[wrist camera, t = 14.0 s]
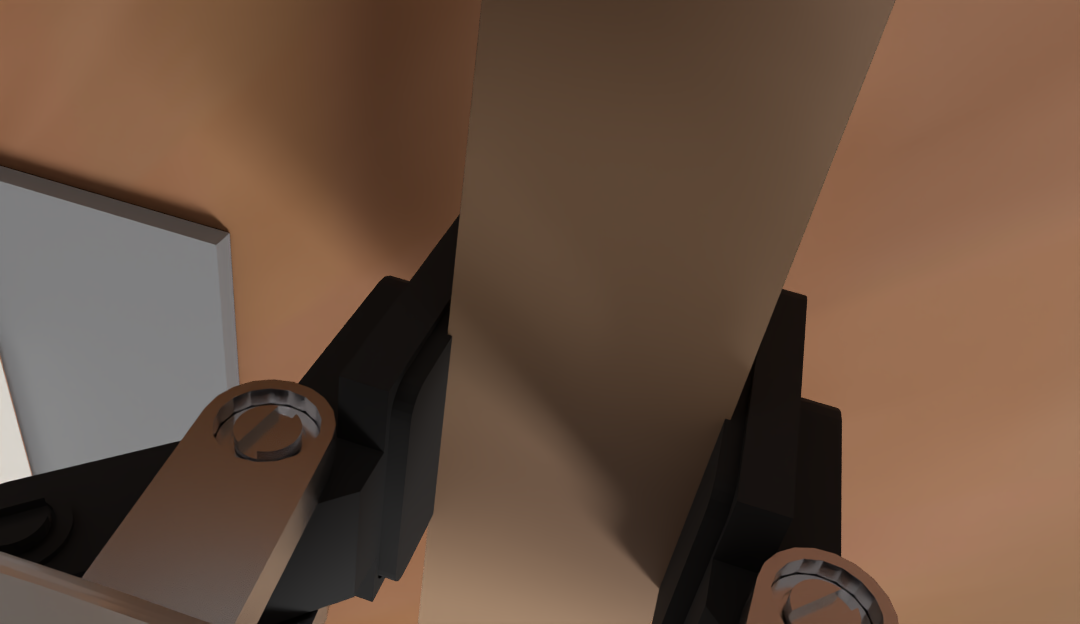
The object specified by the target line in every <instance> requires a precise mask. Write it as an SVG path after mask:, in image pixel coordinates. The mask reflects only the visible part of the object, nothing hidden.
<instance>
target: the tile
mask: <svg viewBox="0 0 1080 624" xmlns="http://www.w3.org/2000/svg"><path fill="white" fill-rule="evenodd" d="M29 476H33V475H32V471H31V467H30V463H29V460H28V456H27V452H26V449H25V445H24V441H23V438H22V434H21V430H20V426H19V423H18V419H17V415H16V412H15V408H14V404H13V400H12V397H11V393H10V389H9V386H8V382H7V378H6V375H5V371H4V367H3V363H2V360H1V356H0V484H1V483H4V482H8V481H13V480H17V479H21V478H25V477H29Z"/></svg>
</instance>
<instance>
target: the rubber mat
mask: <svg viewBox="0 0 1080 624" xmlns="http://www.w3.org/2000/svg"><path fill="white" fill-rule="evenodd" d="M0 356H1V360H2V363H3V367H4V371H5V375H6V378H7V382H8V386H9V389H10V393H11V397H12V400H13V404H14V408H15V412H16V415H17V419H18V423H19V426H20V430H21V434H22V438H23V441H24V445H25V449H26V452H27V456H28V460H29V463H30V467H31V471H32V475H33V476H34V475H38V474H42V473H46V472H51V471H55V470H59V469H63V468H67V467H72V466H76V465H80V464H84V463H88V462H93V461H97V460H101V459H105V458H109V457H114V456H118V455H122V454H126V453H131V452H135V451H139V450H143V449H147V448H152V447H156V446H160V445H164V444H168V443H173V442H177V441H181V440H182V439H183V437H184V436H185V434H186V433H187V432H188V430H189V429H190V427H191V426H192V425H193V423H194V422H195V421H196V419H197V418H198V416H199V415H200V414H201V412H202V411H203V410H204V408H205V407H206V406H207V405H208V404H209V403H210V402H211V401H212V400H213V399H214V398H215V397H216V396H218V395H220V394H221V393H223V392H225V391H227V390H229V389H230V388H232V387H234V386H238V385H239V372H238V356H237V341H236V325H235V310H234V294H233V278H232V263H231V247H230V233H228V232H224V231H221V230H217V229H214V228H211V227H207V226H204V225H200V224H197V223H194V222H190V221H187V220H183V219H180V218H177V217H173V216H170V215H166V214H163V213H160V212H156V211H153V210H149V209H146V208H142V207H139V206H136V205H132V204H129V203H125V202H122V201H119V200H115V199H112V198H108V197H105V196H102V195H98V194H95V193H91V192H88V191H85V190H81V189H78V188H74V187H71V186H68V185H64V184H61V183H57V182H54V181H51V180H47V179H44V178H40V177H37V176H33V175H30V174H27V173H23V172H20V171H16V170H13V169H10V168H6V167H3V166H0Z"/></svg>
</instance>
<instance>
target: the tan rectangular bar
mask: <svg viewBox="0 0 1080 624" xmlns="http://www.w3.org/2000/svg"><path fill="white" fill-rule="evenodd" d="M894 3H895V0H482V4H481V13H480V23H479V33H478V43H477V52H476V62H475V72H474V82H473V91H472V101H471V111H470V121H469V130H468V140H467V150H466V160H465V169H464V179H463V189H462V199H461V209H460V218H459V228H458V238H457V248H456V257H455V267H454V277H453V287H452V296H451V306H450V316H449V326H448V335H451V336H452V344H451V353H450V362H449V372H448V381H447V390H446V400H445V409H444V418H443V428H442V437H441V446H440V456H439V465H438V475H437V484H436V493H435V503H434V512H433V516H432V518H431V520H430V522H429V524H428V531H427V540H426V550H425V560H424V570H423V579H422V589H421V599H420V609H419V618H418V624H650V623H651V621H652V618H653V616H654V611H655V607H656V602H657V597H658V592H659V588H660V586H661V583H662V580H663V578H664V575H665V573H666V570H667V568H668V565H669V562H670V560H671V557H672V555H673V552H674V549H675V547H676V544H677V542H678V539H679V537H680V534H681V531H682V529H683V526H684V524H685V521H686V518H687V516H688V513H689V511H690V508H691V506H692V503H693V500H694V498H695V495H696V493H697V490H698V488H699V485H700V482H701V480H702V477H703V475H704V472H705V469H706V467H707V464H708V462H709V459H710V457H711V454H712V451H713V449H714V446H715V444H716V441H717V438H718V436H719V433H720V431H721V428H722V426H723V423H724V420H725V419H728V420H731V417H732V415H733V412H734V410H735V407H736V405H737V402H738V400H739V397H740V395H741V392H742V389H743V387H744V384H745V382H746V379H747V377H748V374H749V372H750V369H751V367H752V364H753V361H754V359H755V356H756V354H757V351H758V349H759V346H760V344H761V341H762V339H763V336H764V334H765V331H766V328H767V326H768V323H769V321H770V318H771V316H772V313H773V311H774V308H775V306H776V303H777V300H778V298H779V295H780V293H781V290H782V288H783V285H784V283H785V280H786V278H787V275H788V273H789V270H790V267H791V265H792V262H793V260H794V257H795V255H796V252H797V250H798V247H799V245H800V242H801V239H802V237H803V234H804V232H805V229H806V227H807V224H808V222H809V219H810V217H811V214H812V211H813V209H814V206H815V204H816V201H817V199H818V196H819V194H820V191H821V189H822V186H823V184H824V181H825V178H826V176H827V173H828V171H829V168H830V166H831V163H832V161H833V158H834V156H835V153H836V150H837V148H838V145H839V143H840V140H841V138H842V135H843V133H844V130H845V128H846V125H847V123H848V120H849V117H850V115H851V112H852V110H853V107H854V105H855V102H856V100H857V97H858V95H859V92H860V89H861V87H862V84H863V82H864V79H865V77H866V74H867V72H868V69H869V67H870V64H871V61H872V59H873V56H874V54H875V51H876V49H877V46H878V44H879V41H880V39H881V36H882V34H883V31H884V28H885V26H886V23H887V21H888V18H889V16H890V13H891V11H892V8H893V6H894Z"/></svg>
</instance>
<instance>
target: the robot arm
mask: <svg viewBox="0 0 1080 624" xmlns="http://www.w3.org/2000/svg"><path fill="white" fill-rule="evenodd" d="M459 218H460V215H459V216H458V217H457V219H456V220H455V221H454V223H453V224H452V225H451V227H450V228H449V229H448V231H447V232H446V233H445V235H444V236H443V237H442V239H441V240H440V241H439V243H438V244H437V245H436V247H435V248H434V249H433V251H432V252H431V253H430V255H429V256H428V257H427V259H426V260H425V261H424V263H423V264H422V265H421V267H420V268H419V270H418V271H417V272H416V274H415V275H414V276H413V278H412V279H411V280H410V281H407V280H403V279H400V278H397V277H393V276H386V277H384V278H383V279H382V280H381V281H380V282H379V283H378V284H377V285H376V287H375V288H374V289H373V290H372V292H371V293H370V294H369V295H368V297H367V298H366V299H365V300H364V302H363V303H362V304H361V305H360V307H359V308H358V309H357V310H356V312H355V313H354V314H353V315H352V317H351V318H350V319H349V320H348V322H347V323H346V324H345V325H344V327H343V328H342V329H341V330H340V332H339V333H338V334H337V335H336V337H335V338H334V339H333V340H332V342H331V343H330V344H329V345H328V347H327V348H326V349H325V350H324V352H323V353H322V354H321V355H320V357H319V358H318V359H317V361H316V362H315V363H314V364H313V366H312V367H311V368H310V369H309V371H308V372H307V373H306V374H305V376H304V377H303V378H302V379H301V381H300V382H299V383H295V382H290V381H282V380H261V381H252V382H248V383H245V384H241V385H238V386H234V387H232V388H230V389H229V390H227V391H225V392H223V393H221V394H220V395H218V396H216V397H215V398H214V399H213V400H212V401H211V402H210V403H209V404H208V405H207V406H206V407H205V408H204V410H203V411H202V412H201V414H200V415H199V416H198V418H197V419H196V421H195V422H194V423H193V425H192V426H191V427H190V429H189V430H188V432H187V433H186V434H185V436H184V437H183V439H182V440H181V441H177V442H173V443H168V444H164V445H160V446H156V447H152V448H147V449H143V450H139V451H135V452H131V453H126V454H122V455H118V456H114V457H109V458H105V459H101V460H97V461H93V462H88V463H84V464H80V465H76V466H72V467H67V468H63V469H59V470H55V471H51V472H46V473H42V474H38V475H34V476H29V477H25V478H21V479H17V480H13V481H8V482H4V483H1V484H0V624H324V623H325V621H326V619H327V615H328V610H329V606H330V605H332V604H335V603H338V602H341V601H343V600H346V599H349V598H352V597H354V596H357V597H360V598H363V599H366V600H369V601H371V602H373V600H374V598H375V596H376V594H377V592H378V590H379V589H380V587H381V585H382V583H383V581H384V579H385V578H388V579H391V580H394V581H399V579H400V578H401V577H402V575H403V573H404V571H405V569H406V567H407V565H408V563H409V561H410V559H411V557H412V555H413V553H414V551H415V549H416V547H417V545H418V544H419V542H420V540H421V538H422V536H423V534H424V532H425V530H426V528H427V526H428V524H429V522H430V520H431V518H432V516H433V512H434V503H435V493H436V484H437V475H438V465H439V456H440V446H441V437H442V428H443V418H444V409H445V400H446V390H447V381H448V372H449V362H450V353H451V344H452V336H451V335H448V326H449V316H450V306H451V296H452V287H453V277H454V267H455V257H456V248H457V238H458V228H459ZM806 309H807V296H805V295H802V294H798V293H795V292H791V291H788V290H784V289H782V290H781V293H780V295H779V298H778V300H777V303H776V306H775V308H774V311H773V313H772V316H771V318H770V321H769V323H768V326H767V328H766V331H765V334H764V336H763V339H762V341H761V344H760V346H759V349H758V351H757V354H756V356H755V359H754V361H753V364H752V367H751V369H750V372H749V374H748V377H747V379H746V382H745V384H744V387H743V389H742V392H741V395H740V397H739V400H738V402H737V405H736V407H735V410H734V412H733V415H732V417H731V420H728V419H725V420H724V423H723V426H722V428H721V431H720V433H719V436H718V438H717V441H716V444H715V446H714V449H713V451H712V454H711V457H710V459H709V462H708V464H707V467H706V469H705V472H704V475H703V477H702V480H701V482H700V485H699V488H698V490H697V493H696V495H695V498H694V500H693V503H692V506H691V508H690V511H689V513H688V516H687V518H686V521H685V524H684V526H683V529H682V531H681V534H680V537H679V539H678V542H677V544H676V547H675V549H674V552H673V555H672V557H671V560H670V562H669V565H668V568H667V570H666V573H665V575H664V578H663V580H662V583H661V586H660V588H659V592H658V597H657V602H656V607H655V611H654V616H653V621H652V624H898V616H897V614H896V612H895V610H894V608H893V605H892V603H891V601H890V599H889V597H888V596H887V594H886V593H885V592H884V591H883V589H882V588H881V587H880V586H879V585H878V583H877V582H876V581H875V580H874V579H873V578H872V577H871V576H870V575H868V574H867V573H866V572H865V571H863V570H862V569H861V568H860V567H858V566H857V565H856V564H854V563H852V562H850V561H848V560H846V559H844V558H842V557H841V473H842V418H841V411H840V410H839V408H835V407H832V406H829V405H825V404H822V403H818V402H815V401H812V400H808V399H805V398H802V397H801V387H802V371H803V356H804V340H805V324H806Z"/></svg>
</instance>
